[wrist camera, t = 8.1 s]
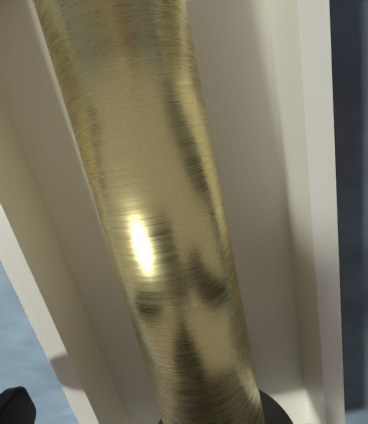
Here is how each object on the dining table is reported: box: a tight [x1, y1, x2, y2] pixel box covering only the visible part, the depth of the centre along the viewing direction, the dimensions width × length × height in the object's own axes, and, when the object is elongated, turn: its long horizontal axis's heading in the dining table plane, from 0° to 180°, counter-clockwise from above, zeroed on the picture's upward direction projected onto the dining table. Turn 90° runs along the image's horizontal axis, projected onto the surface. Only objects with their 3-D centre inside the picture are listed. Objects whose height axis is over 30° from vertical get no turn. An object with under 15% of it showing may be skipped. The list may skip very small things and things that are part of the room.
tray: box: [0, 0, 345, 424], centre depth 9 cm, size 17×8×2 cm, turn 12°
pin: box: [33, 0, 293, 424], centre depth 7 cm, size 13×5×5 cm, turn 12°
